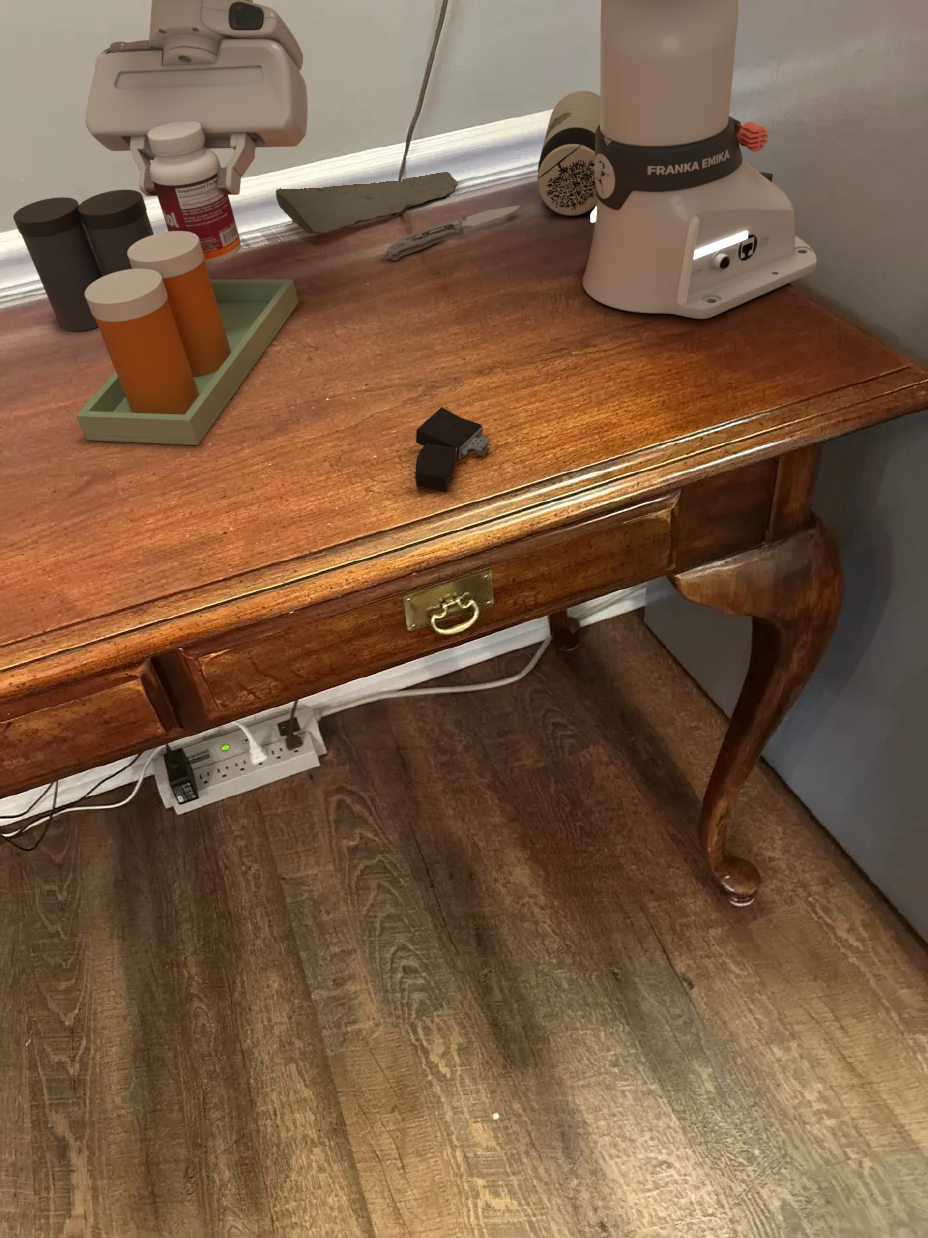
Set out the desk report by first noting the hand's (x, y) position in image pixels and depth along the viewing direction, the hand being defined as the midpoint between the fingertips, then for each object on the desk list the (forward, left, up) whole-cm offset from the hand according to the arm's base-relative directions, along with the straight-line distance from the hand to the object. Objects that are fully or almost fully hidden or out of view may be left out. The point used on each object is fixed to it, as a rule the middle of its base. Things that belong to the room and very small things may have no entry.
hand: (189, 192), depth 85 cm
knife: (-28, -7, -13) cm, 31 cm away
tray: (+4, +6, -13) cm, 15 cm away
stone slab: (-24, -17, -12) cm, 32 cm away
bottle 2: (+8, +12, -13) cm, 19 cm away
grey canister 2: (+7, -9, -13) cm, 18 cm away
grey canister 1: (+13, -11, -13) cm, 22 cm away
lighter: (-9, +30, -12) cm, 33 cm away
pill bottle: (0, -1, -6) cm, 6 cm away
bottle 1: (+4, +6, -13) cm, 15 cm away
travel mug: (-49, -20, -9) cm, 54 cm away
